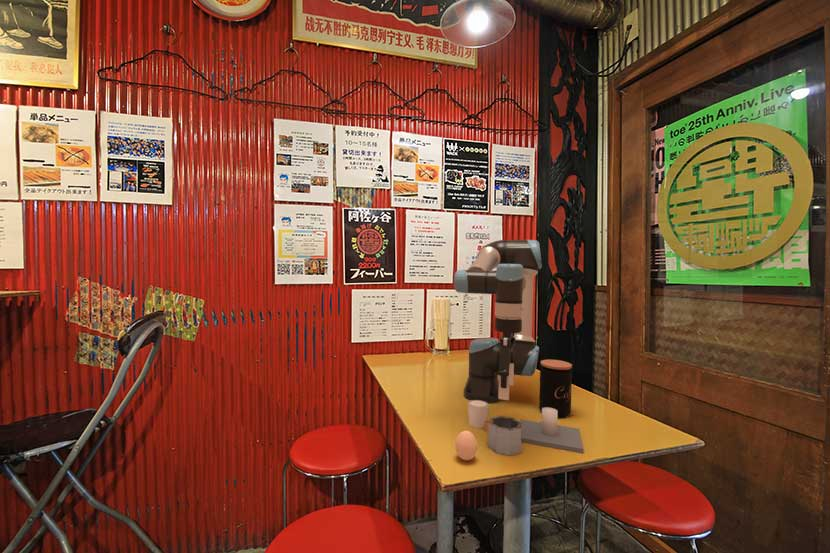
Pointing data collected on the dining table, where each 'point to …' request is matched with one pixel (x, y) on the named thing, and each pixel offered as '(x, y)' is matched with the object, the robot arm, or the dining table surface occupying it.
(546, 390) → the coffee jar
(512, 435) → the mug
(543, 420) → the grey plate with knob
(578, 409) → the dining table surface
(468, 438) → the egg
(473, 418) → the tan cup
